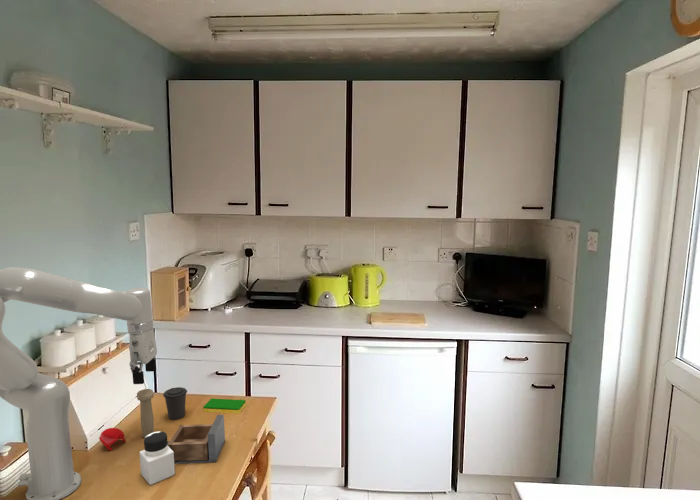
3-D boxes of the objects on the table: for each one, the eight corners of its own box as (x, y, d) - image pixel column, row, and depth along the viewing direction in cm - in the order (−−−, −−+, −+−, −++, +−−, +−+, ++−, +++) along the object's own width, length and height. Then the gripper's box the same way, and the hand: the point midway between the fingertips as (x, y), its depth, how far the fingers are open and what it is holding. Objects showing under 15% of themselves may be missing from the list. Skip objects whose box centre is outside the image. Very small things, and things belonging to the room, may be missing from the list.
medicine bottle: (175, 474, 129) (173, 435, 128) (150, 486, 125) (147, 445, 123) (165, 464, 135) (163, 425, 133) (140, 474, 130) (137, 435, 128)
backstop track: (143, 464, 134) (141, 436, 133) (158, 443, 146) (156, 416, 144) (216, 462, 135) (214, 433, 134) (225, 441, 147) (223, 414, 145)
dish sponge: (239, 415, 164) (238, 408, 164) (203, 413, 166) (202, 406, 166) (246, 405, 171) (246, 399, 171) (211, 404, 173) (211, 398, 173)
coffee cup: (170, 410, 167) (168, 385, 166) (192, 411, 167) (190, 385, 166) (160, 422, 159) (158, 394, 158) (183, 422, 159) (181, 395, 158)
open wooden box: (168, 461, 134) (167, 444, 134) (181, 440, 146) (180, 425, 145) (207, 459, 135) (206, 443, 134) (217, 439, 146) (216, 423, 146)
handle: (141, 442, 146) (138, 398, 144) (139, 433, 152) (135, 391, 150) (157, 438, 149) (154, 394, 147) (154, 429, 154) (151, 387, 152)
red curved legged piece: (101, 446, 139) (119, 431, 141) (93, 434, 142) (111, 419, 145) (114, 456, 144) (131, 441, 147) (107, 444, 148) (123, 430, 150)
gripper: (141, 335, 137) (146, 388, 139) (162, 318, 154) (166, 366, 157) (116, 335, 137) (121, 389, 139) (139, 319, 154) (144, 367, 156)
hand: (145, 377), depth 148 cm, fingers open, 9 cm apart
